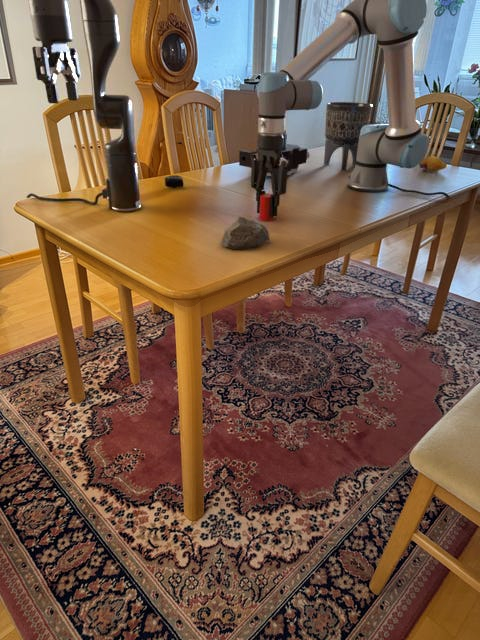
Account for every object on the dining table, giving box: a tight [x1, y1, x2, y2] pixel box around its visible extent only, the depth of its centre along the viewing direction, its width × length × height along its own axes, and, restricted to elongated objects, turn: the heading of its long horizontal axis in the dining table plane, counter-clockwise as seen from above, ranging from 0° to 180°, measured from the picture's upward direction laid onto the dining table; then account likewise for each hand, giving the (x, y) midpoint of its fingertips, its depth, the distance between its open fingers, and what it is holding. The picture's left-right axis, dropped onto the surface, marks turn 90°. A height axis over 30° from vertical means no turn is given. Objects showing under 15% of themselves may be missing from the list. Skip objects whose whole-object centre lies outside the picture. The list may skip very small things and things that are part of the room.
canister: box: [258, 192, 275, 222], centre depth 139 cm, size 4×4×7 cm
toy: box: [418, 156, 448, 172], centre depth 207 cm, size 11×6×15 cm
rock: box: [221, 216, 270, 250], centre depth 119 cm, size 13×9×6 cm, turn 131°
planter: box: [323, 101, 374, 172], centre depth 204 cm, size 20×20×26 cm
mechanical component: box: [238, 128, 311, 177], centre depth 191 cm, size 22×21×30 cm
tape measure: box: [164, 175, 184, 189], centre depth 171 cm, size 7×7×4 cm
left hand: (64, 101), depth 101 cm, fingers open, 8 cm apart
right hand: (266, 214), depth 141 cm, fingers closed on canister, 5 cm apart
